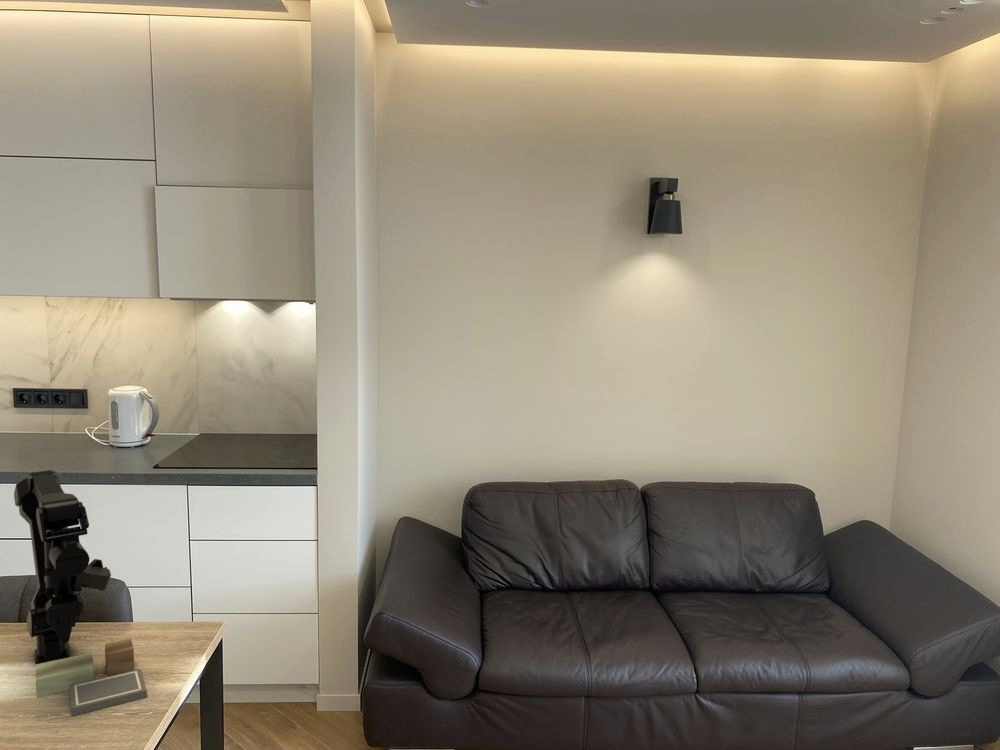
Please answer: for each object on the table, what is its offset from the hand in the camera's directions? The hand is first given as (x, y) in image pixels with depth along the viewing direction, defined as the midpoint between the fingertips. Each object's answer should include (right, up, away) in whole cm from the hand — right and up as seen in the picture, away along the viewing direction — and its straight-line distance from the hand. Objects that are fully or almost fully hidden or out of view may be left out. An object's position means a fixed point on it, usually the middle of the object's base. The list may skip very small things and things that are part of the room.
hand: (64, 632), depth 146 cm
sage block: (-1, -11, +1) cm, 11 cm away
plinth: (+10, -12, -2) cm, 16 cm away
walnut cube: (+7, -11, +8) cm, 15 cm away
